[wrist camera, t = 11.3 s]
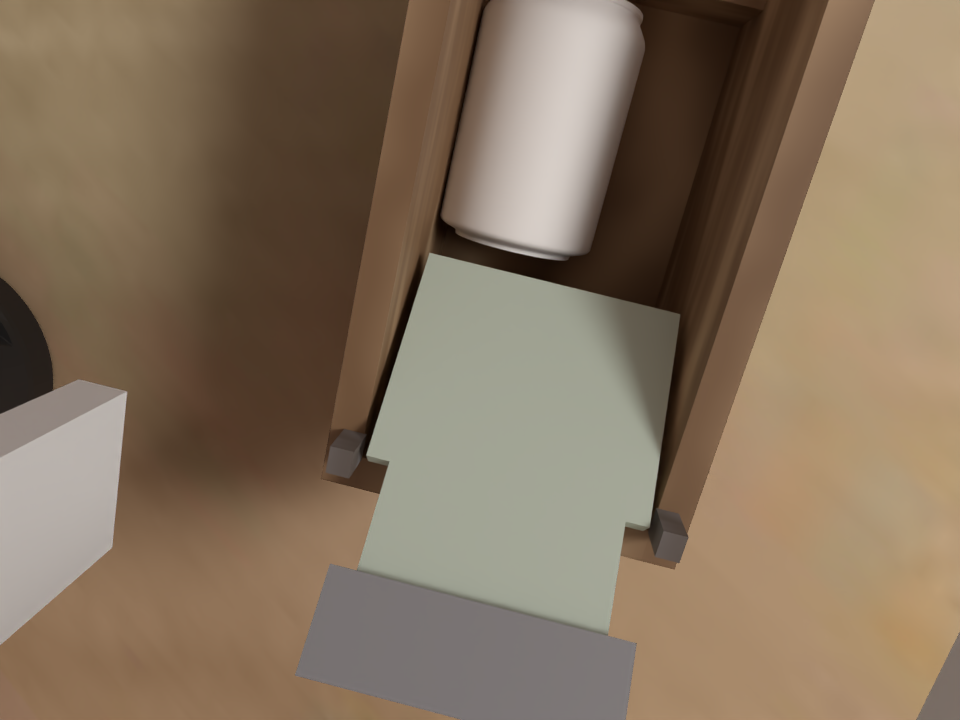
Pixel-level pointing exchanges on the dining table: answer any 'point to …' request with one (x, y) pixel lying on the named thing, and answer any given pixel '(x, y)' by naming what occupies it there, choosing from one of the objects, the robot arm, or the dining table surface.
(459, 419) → the lid
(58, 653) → the dining table surface
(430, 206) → the crate
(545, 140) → the beverage can
